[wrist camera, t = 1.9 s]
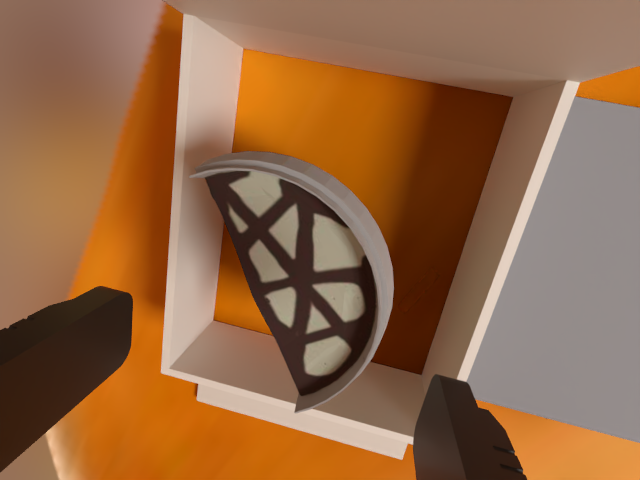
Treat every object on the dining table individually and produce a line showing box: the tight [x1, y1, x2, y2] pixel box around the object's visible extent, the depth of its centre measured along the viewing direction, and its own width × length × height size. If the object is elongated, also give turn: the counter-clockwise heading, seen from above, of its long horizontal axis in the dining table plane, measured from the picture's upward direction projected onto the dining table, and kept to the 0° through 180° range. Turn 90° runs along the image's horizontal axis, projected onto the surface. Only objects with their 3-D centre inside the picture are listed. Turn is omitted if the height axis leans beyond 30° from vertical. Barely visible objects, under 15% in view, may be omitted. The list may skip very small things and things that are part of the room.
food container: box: [189, 151, 394, 414], centre depth 19 cm, size 12×6×10 cm, turn 20°
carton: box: [161, 0, 640, 460], centre depth 17 cm, size 17×27×15 cm, turn 169°
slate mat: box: [467, 97, 640, 443], centre depth 22 cm, size 14×20×1 cm
